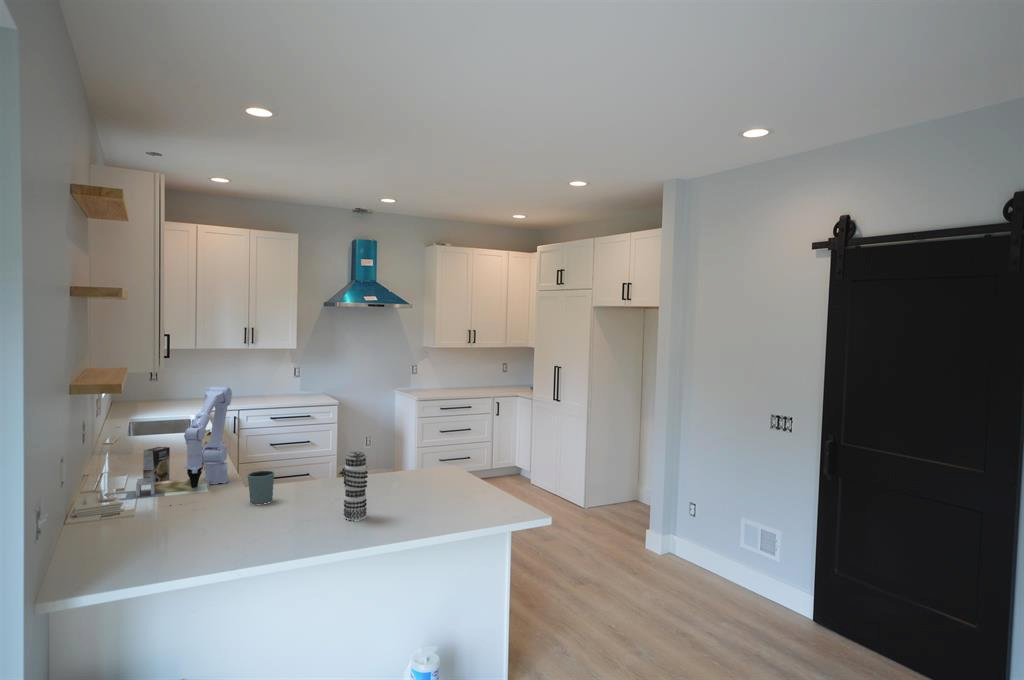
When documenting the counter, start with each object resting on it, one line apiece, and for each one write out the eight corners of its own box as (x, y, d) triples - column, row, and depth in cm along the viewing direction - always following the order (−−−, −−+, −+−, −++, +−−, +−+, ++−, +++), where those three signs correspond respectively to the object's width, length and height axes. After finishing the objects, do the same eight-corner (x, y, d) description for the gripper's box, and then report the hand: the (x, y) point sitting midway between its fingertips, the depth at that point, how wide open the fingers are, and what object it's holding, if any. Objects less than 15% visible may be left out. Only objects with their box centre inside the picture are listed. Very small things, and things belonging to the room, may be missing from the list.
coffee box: (154, 487, 271) (155, 450, 271) (142, 486, 273) (142, 450, 272) (170, 481, 280) (170, 447, 280) (158, 481, 282) (158, 446, 281)
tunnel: (155, 490, 261) (155, 477, 261) (154, 495, 253) (154, 482, 253) (137, 491, 258) (137, 478, 258) (136, 497, 250) (136, 483, 250)
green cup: (278, 502, 252) (278, 473, 252) (254, 507, 244) (254, 477, 244) (267, 497, 259) (267, 469, 258) (243, 502, 251) (243, 473, 251)
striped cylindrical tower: (340, 515, 236) (341, 451, 236) (365, 513, 240) (365, 449, 239) (344, 522, 228) (345, 456, 227) (369, 520, 232) (370, 454, 231)
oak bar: (194, 487, 266) (194, 478, 266) (194, 490, 262) (194, 480, 262) (154, 491, 259) (155, 482, 259) (154, 493, 255) (154, 484, 255)
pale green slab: (206, 487, 273) (206, 483, 273) (207, 495, 260) (207, 491, 260) (105, 496, 255) (105, 493, 255) (100, 506, 242) (100, 502, 242)
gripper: (184, 452, 268) (184, 483, 269) (184, 459, 255) (183, 491, 256) (202, 451, 272) (201, 481, 272) (202, 457, 259) (202, 489, 259)
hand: (194, 486), depth 264 cm, fingers closed on oak bar, 4 cm apart
